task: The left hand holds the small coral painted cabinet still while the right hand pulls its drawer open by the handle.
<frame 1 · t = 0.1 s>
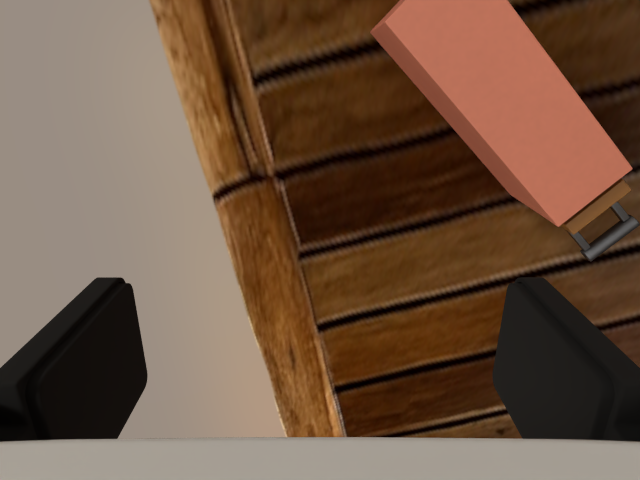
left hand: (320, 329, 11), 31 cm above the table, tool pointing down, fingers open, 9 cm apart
cabinet: (473, 92, 39), on the table
drawer: (530, 143, 36), point 5 cm above the table, slide at 0.8 cm
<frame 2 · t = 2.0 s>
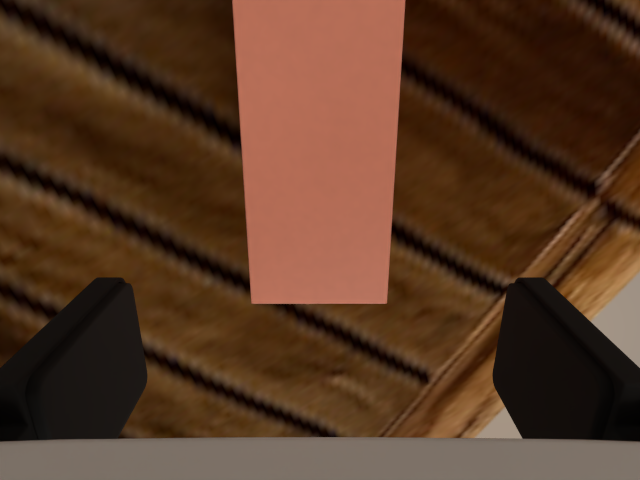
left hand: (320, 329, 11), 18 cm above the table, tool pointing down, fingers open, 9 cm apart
cabinet: (318, 76, 26), on the table
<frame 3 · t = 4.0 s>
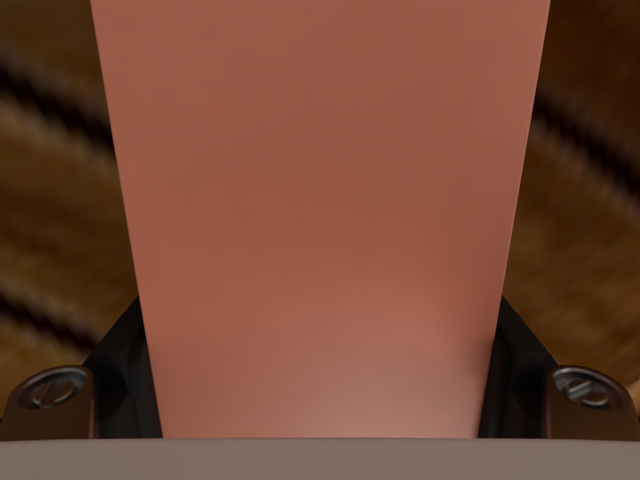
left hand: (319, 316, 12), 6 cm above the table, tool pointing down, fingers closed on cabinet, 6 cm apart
cabinet: (320, 79, 15), on the table, touching left hand
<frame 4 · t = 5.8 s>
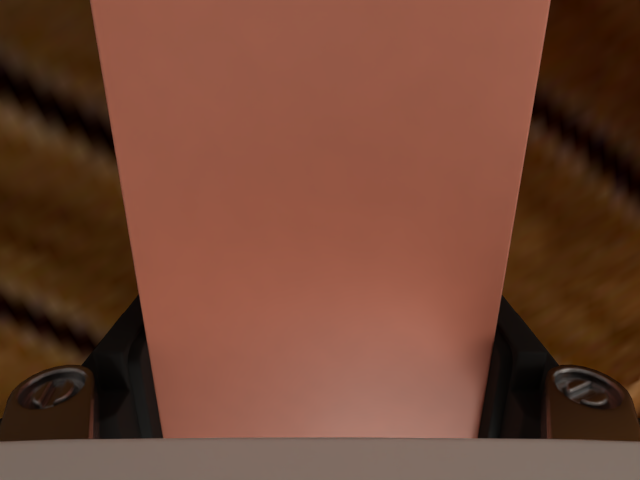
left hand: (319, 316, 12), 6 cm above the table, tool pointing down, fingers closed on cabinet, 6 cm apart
cabinet: (320, 79, 15), on the table, touching left hand
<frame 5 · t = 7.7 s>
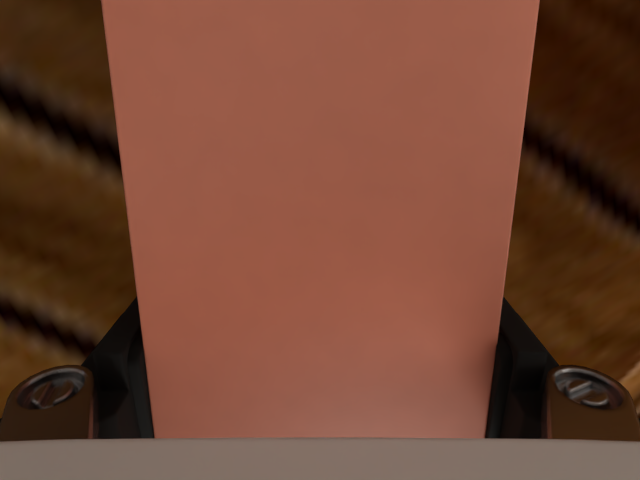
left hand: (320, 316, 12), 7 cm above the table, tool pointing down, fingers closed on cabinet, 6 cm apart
cabinet: (317, 101, 15), point 1 cm above the table, touching left hand
when the left hand's fingers open (6 cm above the table, at t = 9.5 s): cabinet stays where it is, on the table.
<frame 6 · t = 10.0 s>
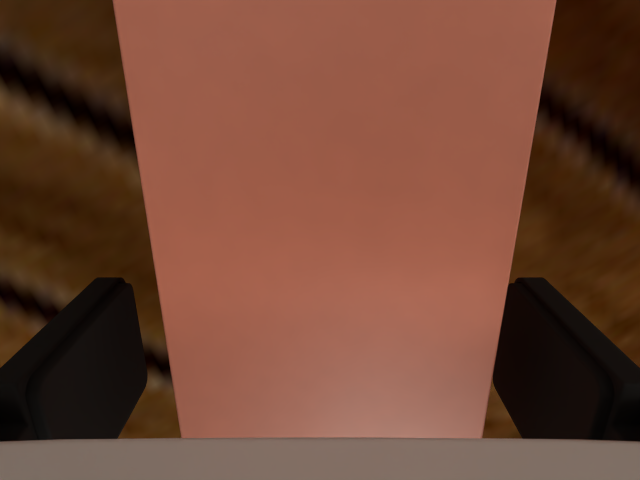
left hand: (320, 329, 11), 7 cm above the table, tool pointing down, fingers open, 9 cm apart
cabinet: (327, 75, 15), on the table
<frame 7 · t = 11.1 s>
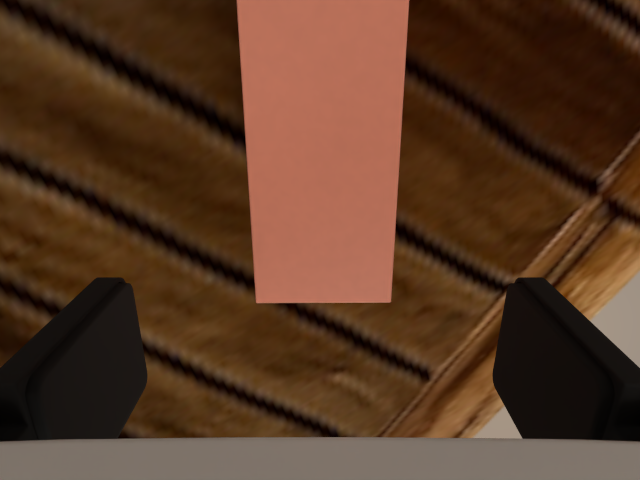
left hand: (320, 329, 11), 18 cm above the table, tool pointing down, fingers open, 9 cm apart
cabinet: (322, 76, 26), on the table
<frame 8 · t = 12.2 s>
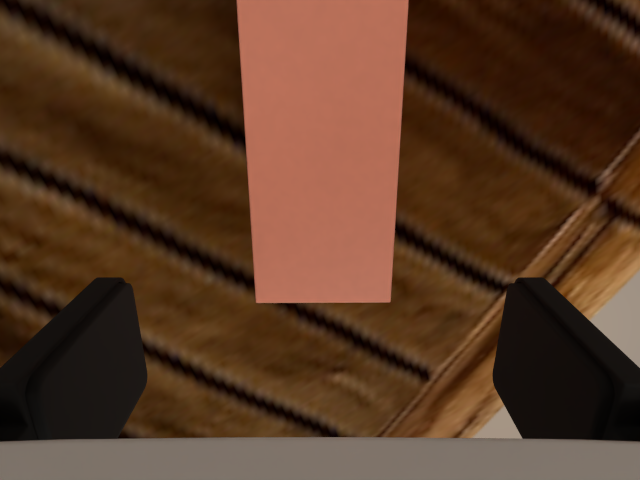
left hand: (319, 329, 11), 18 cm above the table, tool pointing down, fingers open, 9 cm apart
cabinet: (321, 76, 26), on the table
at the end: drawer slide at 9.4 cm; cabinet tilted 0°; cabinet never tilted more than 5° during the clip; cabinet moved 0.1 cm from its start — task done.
